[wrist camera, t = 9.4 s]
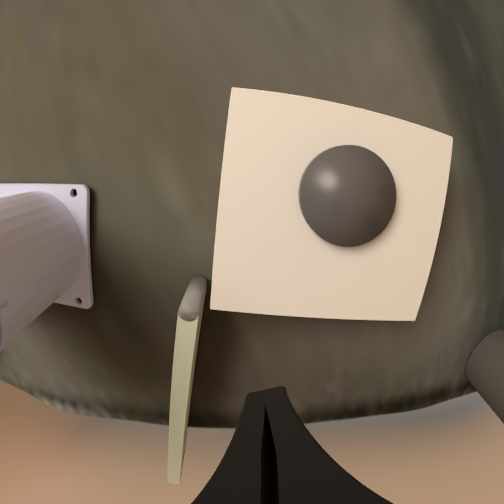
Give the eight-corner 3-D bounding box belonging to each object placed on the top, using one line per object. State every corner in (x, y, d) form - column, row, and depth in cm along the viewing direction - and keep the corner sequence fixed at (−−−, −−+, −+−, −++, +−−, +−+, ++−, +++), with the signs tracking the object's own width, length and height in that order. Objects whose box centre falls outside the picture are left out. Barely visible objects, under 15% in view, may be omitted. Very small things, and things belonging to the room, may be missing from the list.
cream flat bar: (191, 273, 18) (179, 301, 14) (208, 276, 18) (200, 305, 14) (173, 449, 22) (167, 482, 19) (184, 451, 23) (179, 485, 19)
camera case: (216, 278, 18) (208, 315, 14) (234, 104, 16) (231, 83, 11) (386, 292, 19) (419, 325, 15) (414, 139, 16) (459, 136, 12)
